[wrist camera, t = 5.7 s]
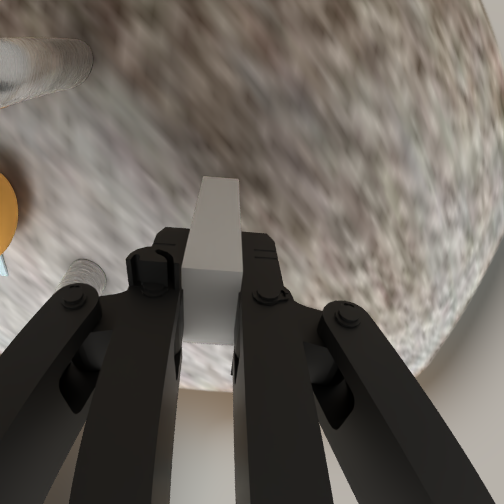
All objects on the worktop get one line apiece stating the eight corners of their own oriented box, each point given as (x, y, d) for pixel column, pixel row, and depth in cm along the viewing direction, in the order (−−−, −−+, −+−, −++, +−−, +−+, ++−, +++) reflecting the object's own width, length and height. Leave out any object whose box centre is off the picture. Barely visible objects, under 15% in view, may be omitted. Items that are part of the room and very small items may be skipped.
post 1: (50, 43, 11) (-67, 54, 4) (95, 36, 11) (-17, 30, 4) (48, 91, 12) (-66, 131, 5) (91, 86, 12) (-18, 120, 6)
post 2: (66, 257, 17) (7, 356, 11) (103, 261, 18) (52, 367, 11) (74, 290, 19) (27, 388, 12) (108, 294, 19) (69, 399, 12)
